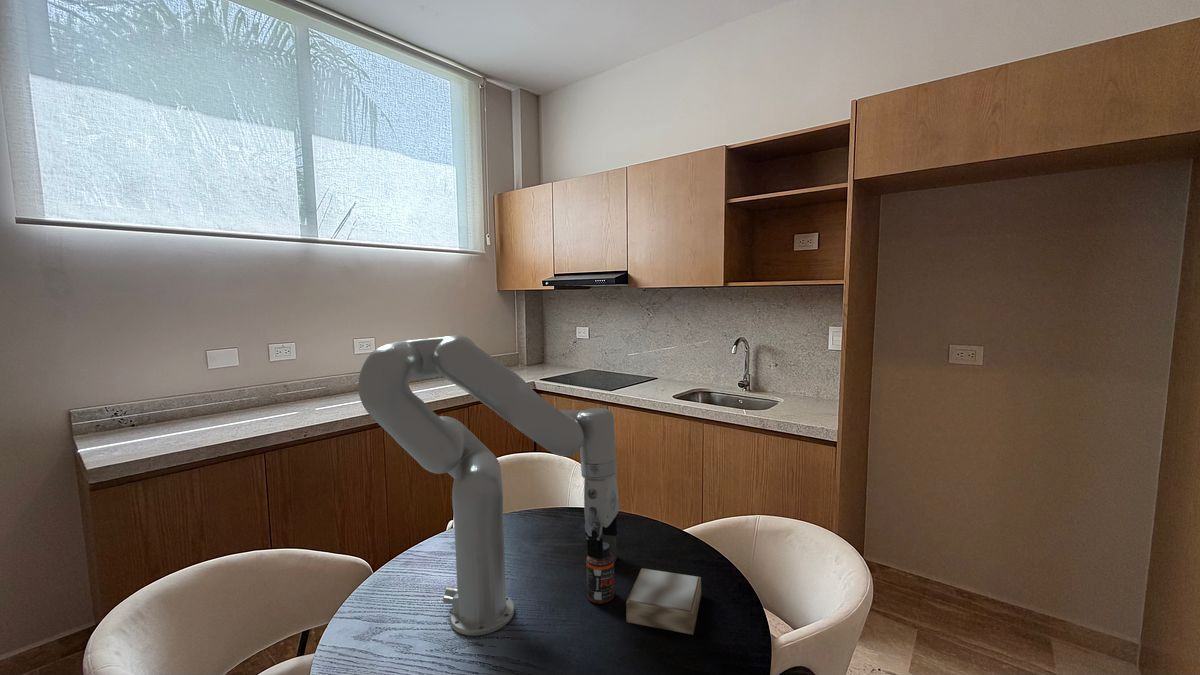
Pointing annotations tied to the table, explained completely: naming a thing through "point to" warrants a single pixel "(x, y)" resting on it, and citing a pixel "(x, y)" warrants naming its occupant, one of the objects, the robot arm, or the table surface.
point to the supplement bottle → (600, 577)
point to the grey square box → (664, 601)
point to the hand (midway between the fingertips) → (603, 545)
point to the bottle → (608, 541)
